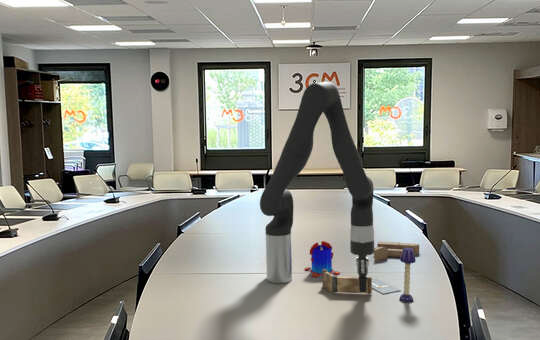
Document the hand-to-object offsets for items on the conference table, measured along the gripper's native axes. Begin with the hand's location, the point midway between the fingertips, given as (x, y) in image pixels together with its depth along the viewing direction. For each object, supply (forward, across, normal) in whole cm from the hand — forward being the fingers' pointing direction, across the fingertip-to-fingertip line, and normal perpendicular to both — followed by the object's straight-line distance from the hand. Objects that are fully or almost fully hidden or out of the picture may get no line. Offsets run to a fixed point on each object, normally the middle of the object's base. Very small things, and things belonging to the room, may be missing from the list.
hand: (362, 291), depth 155 cm
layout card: (+2, -12, +6) cm, 13 cm away
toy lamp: (+2, +1, +14) cm, 14 cm away
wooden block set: (+2, -48, +14) cm, 50 cm away
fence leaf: (+2, -3, -3) cm, 5 cm away
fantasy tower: (+2, -26, -15) cm, 30 cm away
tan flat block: (+2, -7, -11) cm, 13 cm away
